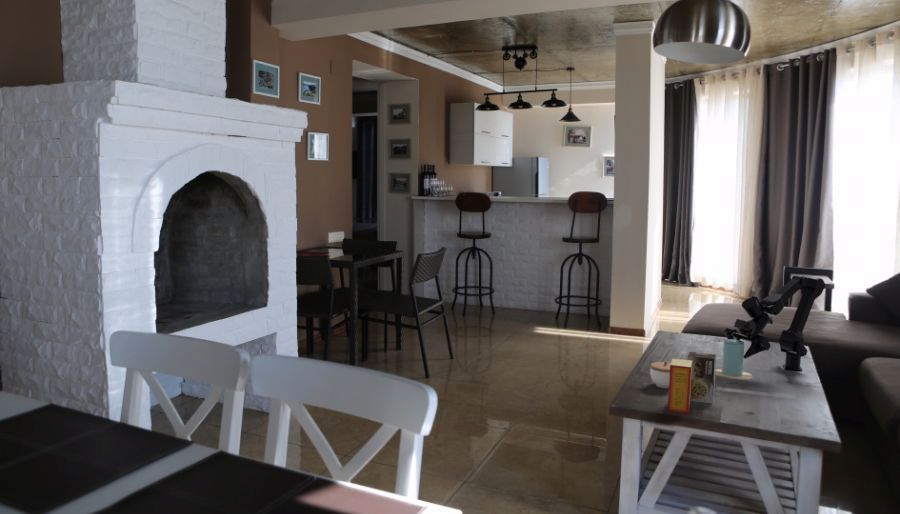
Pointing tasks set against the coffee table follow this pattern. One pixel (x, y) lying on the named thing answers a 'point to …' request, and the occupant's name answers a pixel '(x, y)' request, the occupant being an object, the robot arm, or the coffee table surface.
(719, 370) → the oak plate
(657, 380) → the lidded jar
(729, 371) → the teal domed canister
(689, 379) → the baking soda box
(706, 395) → the coffee box
